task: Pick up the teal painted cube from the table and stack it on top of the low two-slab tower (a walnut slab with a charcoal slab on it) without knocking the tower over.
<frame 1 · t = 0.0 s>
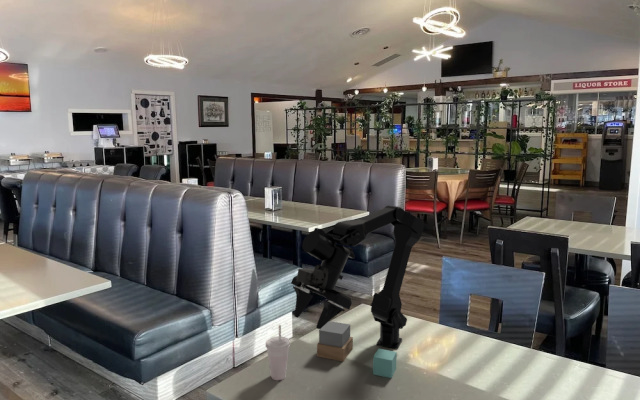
hand: (306, 322, 118), 15 cm above the table, tool tilted 35°, fingers open, 9 cm apart
tower top: (334, 340, 133), point 4 cm above the table, touching tower base
smoothie: (278, 377, 121), on the table
tower base: (335, 353, 134), on the table, touching tower top
teal cube: (384, 372, 123), on the table
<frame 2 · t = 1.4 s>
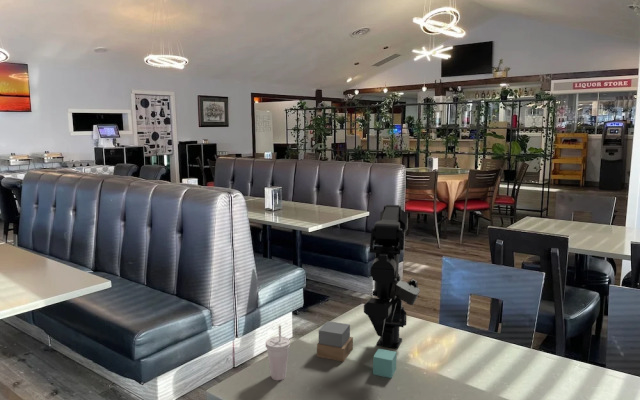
hand: (384, 328, 121), 12 cm above the table, tool pointing down, fingers open, 9 cm apart
nothing on the table moved.
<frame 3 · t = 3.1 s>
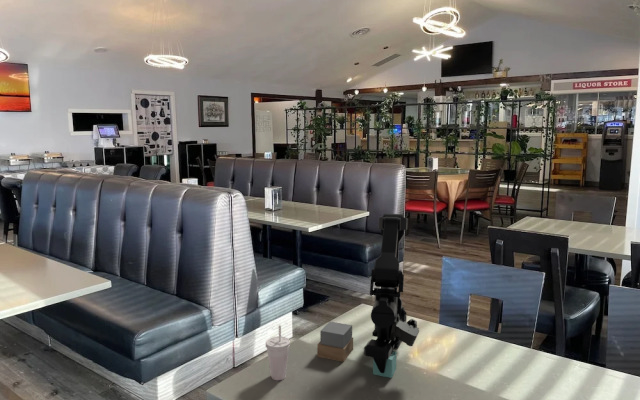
hand: (384, 367, 123), 1 cm above the table, tool pointing down, fingers closed on teal cube, 5 cm apart
teal cube: (384, 371, 123), on the table, touching gripper
everything else where it was.
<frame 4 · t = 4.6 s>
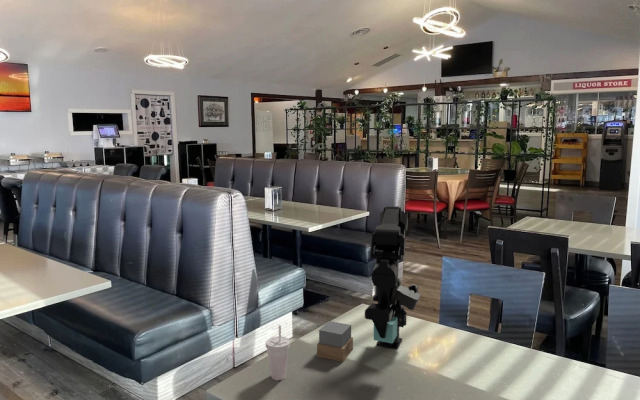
hand: (385, 333, 121), 11 cm above the table, tool pointing down, fingers closed on teal cube, 5 cm apart
teal cube: (385, 337, 122), point 10 cm above the table, touching gripper
everything else where it was.
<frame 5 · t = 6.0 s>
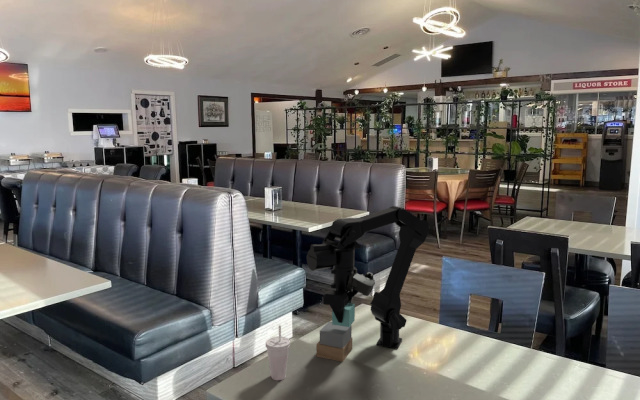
hand: (343, 318, 130), 11 cm above the table, tool pointing down, fingers closed on teal cube, 5 cm apart
teal cube: (343, 322, 130), point 10 cm above the table, touching gripper
everything else where it was.
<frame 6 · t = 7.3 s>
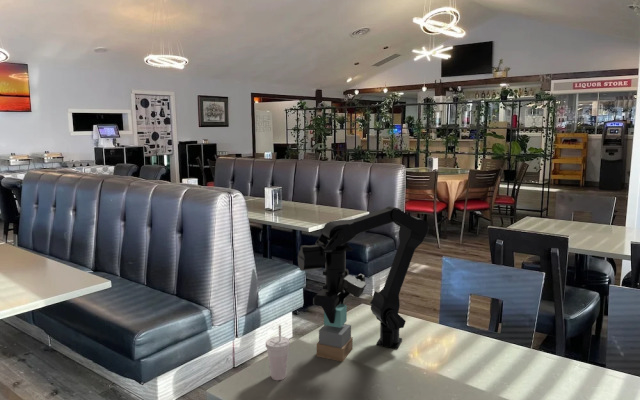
hand: (335, 319, 132), 10 cm above the table, tool pointing down, fingers closed on teal cube, 5 cm apart
teal cube: (335, 323, 132), point 9 cm above the table, touching gripper
everything else where it was.
when the fingers open (10 cm above the table, at t = 7.5 s): teal cube drops 1 cm, point 8 cm above the table.
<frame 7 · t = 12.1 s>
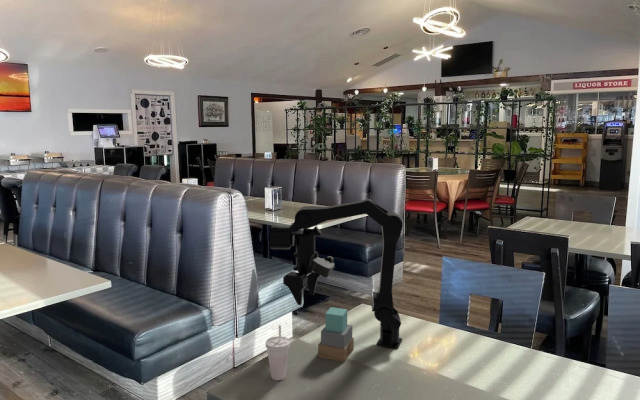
hand: (305, 299, 140), 13 cm above the table, tool pointing down, fingers open, 9 cm apart
teal cube: (336, 328, 132), point 8 cm above the table
everything else where it was.
at the end: teal cube 0.2 cm off-centre on the tower base, point 8.0 cm above the tower base's base; teal cube tilted 0°; tower top 0.2 cm off-centre on the tower base, point 4.0 cm above the tower base's base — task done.
